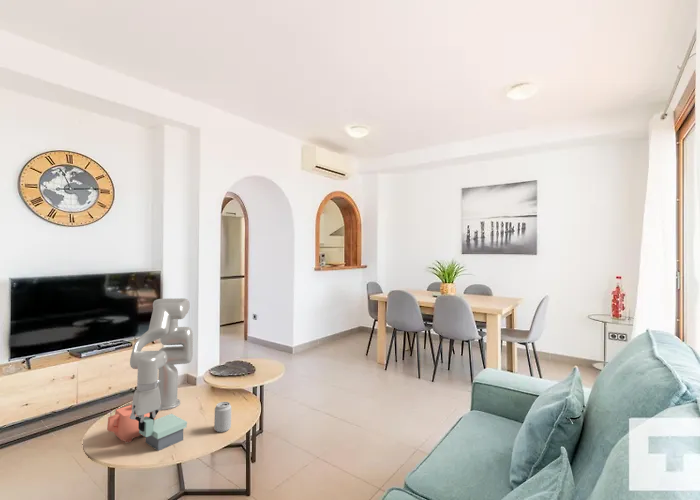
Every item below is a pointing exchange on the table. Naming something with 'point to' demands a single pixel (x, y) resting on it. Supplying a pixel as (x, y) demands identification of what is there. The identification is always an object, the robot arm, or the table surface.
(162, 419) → the mint green stepped block
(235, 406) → the table surface
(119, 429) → the teapot
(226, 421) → the can
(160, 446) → the tub
